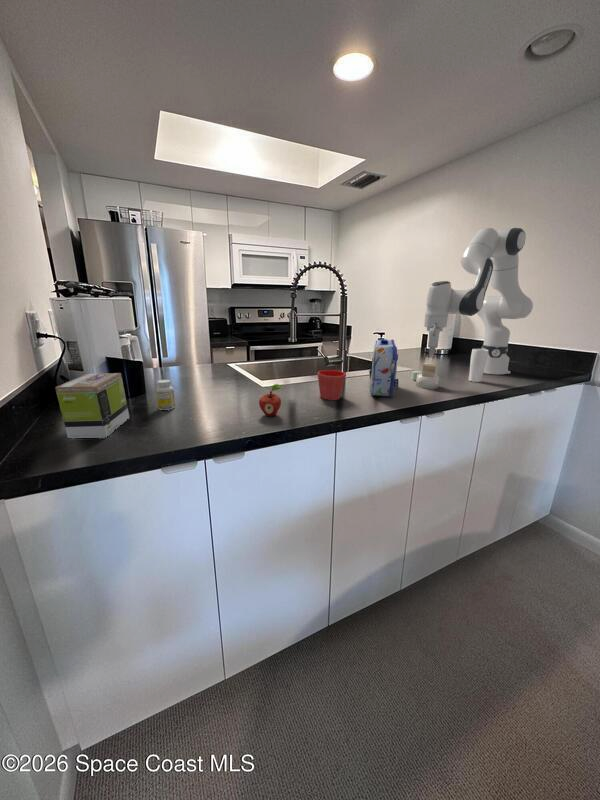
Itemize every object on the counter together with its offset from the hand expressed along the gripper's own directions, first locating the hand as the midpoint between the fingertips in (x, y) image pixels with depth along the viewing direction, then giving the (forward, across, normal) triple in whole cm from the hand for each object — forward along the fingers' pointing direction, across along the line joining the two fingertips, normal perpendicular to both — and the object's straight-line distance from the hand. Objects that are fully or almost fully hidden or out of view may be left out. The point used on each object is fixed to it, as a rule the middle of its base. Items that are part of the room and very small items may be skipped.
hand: (431, 355), depth 136 cm
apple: (+12, -62, +46) cm, 78 cm away
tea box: (+11, -92, +85) cm, 126 cm away
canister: (+14, -1, 0) cm, 14 cm away
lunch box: (+13, -18, +17) cm, 28 cm away
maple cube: (+9, 0, 0) cm, 9 cm away
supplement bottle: (+12, -70, +81) cm, 108 cm away
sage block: (+14, +10, +5) cm, 18 cm away
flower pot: (+13, -35, +34) cm, 50 cm away
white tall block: (+14, +19, -21) cm, 32 cm away
